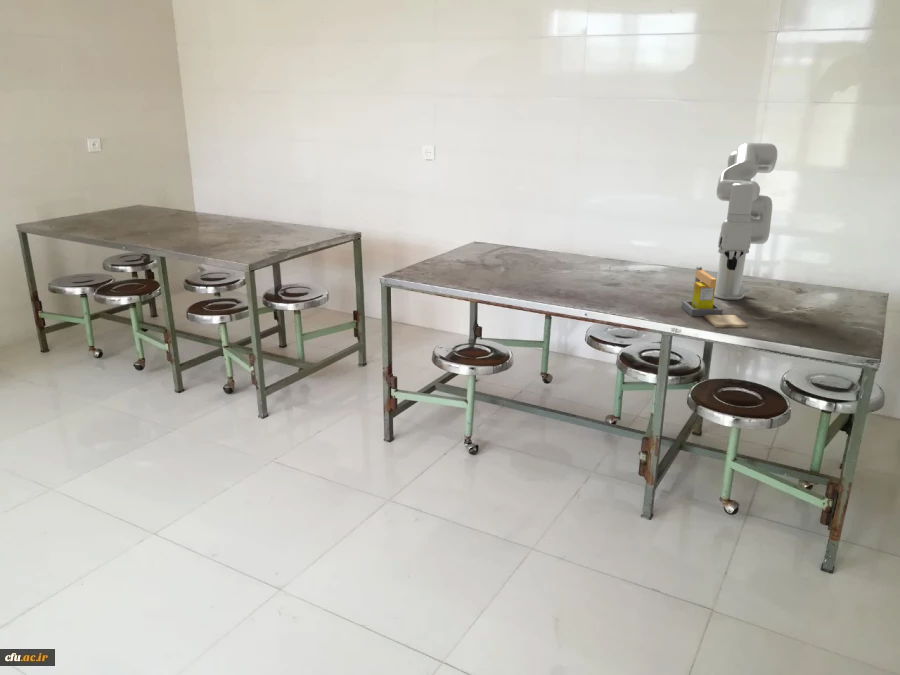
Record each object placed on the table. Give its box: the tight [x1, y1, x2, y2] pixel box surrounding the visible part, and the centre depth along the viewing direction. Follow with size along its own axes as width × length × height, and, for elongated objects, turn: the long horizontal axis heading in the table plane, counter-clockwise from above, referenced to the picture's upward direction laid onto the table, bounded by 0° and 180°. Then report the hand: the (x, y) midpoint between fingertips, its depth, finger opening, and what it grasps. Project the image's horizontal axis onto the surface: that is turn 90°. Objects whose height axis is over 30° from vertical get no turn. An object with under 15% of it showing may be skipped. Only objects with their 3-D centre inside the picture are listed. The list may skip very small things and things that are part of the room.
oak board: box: [703, 314, 748, 328], centre depth 243 cm, size 11×11×1 cm
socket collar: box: [681, 300, 724, 317], centre depth 255 cm, size 11×11×2 cm
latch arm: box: [694, 266, 717, 288], centre depth 253 cm, size 16×2×15 cm, turn 0°
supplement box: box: [691, 281, 716, 309], centre depth 253 cm, size 6×6×11 cm
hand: (730, 269), depth 245 cm, fingers closed
